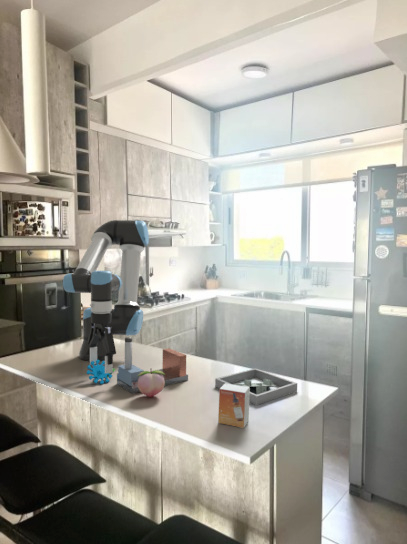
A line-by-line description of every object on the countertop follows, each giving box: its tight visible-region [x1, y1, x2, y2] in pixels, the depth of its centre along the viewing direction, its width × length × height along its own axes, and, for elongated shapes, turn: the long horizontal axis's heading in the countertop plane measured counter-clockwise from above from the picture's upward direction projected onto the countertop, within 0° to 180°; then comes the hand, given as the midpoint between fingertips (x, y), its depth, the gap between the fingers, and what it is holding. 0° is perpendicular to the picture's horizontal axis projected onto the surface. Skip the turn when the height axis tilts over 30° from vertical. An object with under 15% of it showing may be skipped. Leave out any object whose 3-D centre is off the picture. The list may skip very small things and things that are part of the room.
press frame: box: [116, 347, 189, 395], centre depth 149 cm, size 12×24×10 cm, turn 129°
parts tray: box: [214, 368, 298, 406], centre depth 144 cm, size 21×21×3 cm
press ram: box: [117, 336, 145, 387], centre depth 143 cm, size 10×5×16 cm, turn 39°
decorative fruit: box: [137, 368, 165, 398], centre depth 135 cm, size 9×8×10 cm
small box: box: [217, 383, 251, 429], centre depth 116 cm, size 8×6×10 cm
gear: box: [86, 360, 116, 385], centre depth 150 cm, size 11×6×10 cm
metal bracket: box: [233, 379, 278, 395], centre depth 143 cm, size 14×6×15 cm
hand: (100, 368), depth 148 cm, fingers open, 13 cm apart
